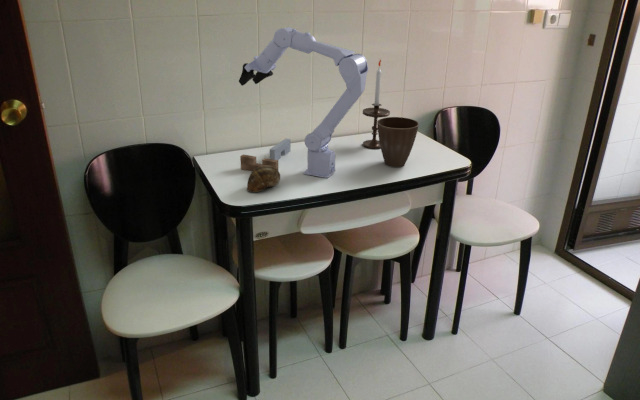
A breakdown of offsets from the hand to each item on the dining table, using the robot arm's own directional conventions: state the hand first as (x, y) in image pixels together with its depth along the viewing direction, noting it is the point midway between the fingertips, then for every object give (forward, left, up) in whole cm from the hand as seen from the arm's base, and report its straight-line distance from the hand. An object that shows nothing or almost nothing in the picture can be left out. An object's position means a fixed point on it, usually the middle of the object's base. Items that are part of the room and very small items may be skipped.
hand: (247, 82), depth 181 cm
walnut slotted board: (-9, +10, -29) cm, 32 cm away
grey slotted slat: (-9, -7, -29) cm, 31 cm away
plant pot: (-51, -18, -29) cm, 61 cm away
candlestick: (-38, -35, -29) cm, 59 cm away
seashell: (-17, +22, -29) cm, 40 cm away
